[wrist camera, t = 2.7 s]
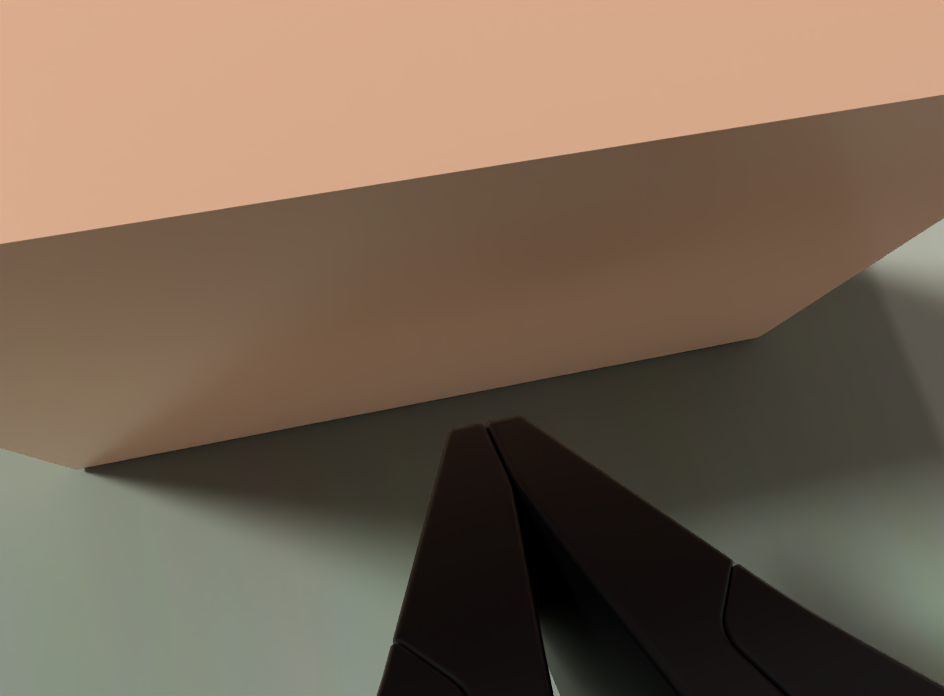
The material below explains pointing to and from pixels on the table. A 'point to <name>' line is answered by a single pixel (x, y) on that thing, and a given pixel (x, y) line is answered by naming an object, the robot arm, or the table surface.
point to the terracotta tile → (427, 197)
